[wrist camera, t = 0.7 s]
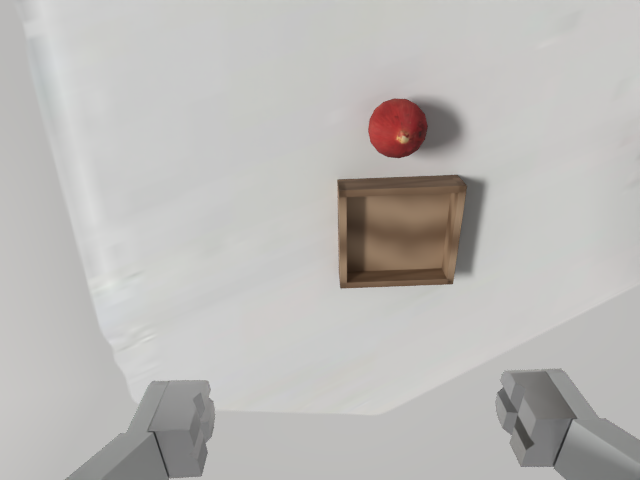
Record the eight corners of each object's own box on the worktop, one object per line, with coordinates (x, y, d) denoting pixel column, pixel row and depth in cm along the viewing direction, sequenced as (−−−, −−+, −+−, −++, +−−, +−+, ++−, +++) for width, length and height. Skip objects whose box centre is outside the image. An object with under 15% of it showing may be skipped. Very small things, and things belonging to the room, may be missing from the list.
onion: (422, 95, 43) (444, 109, 36) (412, 148, 46) (430, 171, 39) (368, 91, 43) (379, 104, 36) (361, 145, 46) (370, 167, 39)
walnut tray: (337, 179, 47) (339, 190, 44) (457, 174, 47) (467, 185, 44) (339, 273, 54) (340, 288, 51) (444, 269, 54) (452, 284, 50)
